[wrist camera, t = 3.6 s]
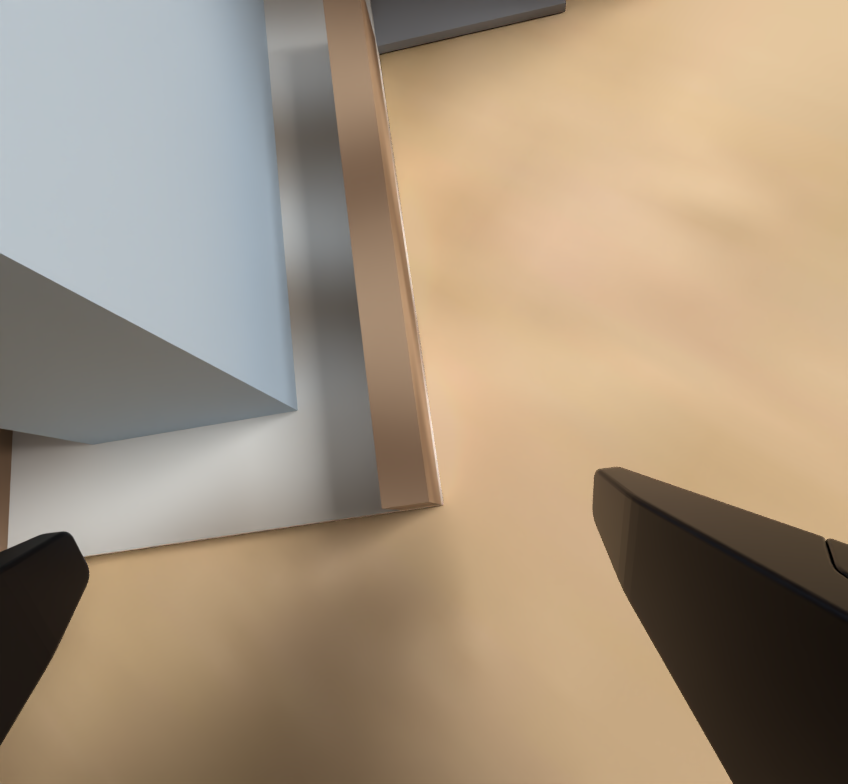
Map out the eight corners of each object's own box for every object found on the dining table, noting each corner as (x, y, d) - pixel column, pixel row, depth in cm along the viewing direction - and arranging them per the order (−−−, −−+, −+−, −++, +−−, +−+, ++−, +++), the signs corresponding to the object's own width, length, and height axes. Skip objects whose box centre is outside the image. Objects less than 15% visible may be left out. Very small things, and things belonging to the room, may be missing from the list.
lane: (679, 470, 14) (767, 448, 9) (-192, 597, 16) (-456, 628, 12) (504, -229, 20) (506, -447, 15) (-107, -62, 22) (-259, -207, 18)
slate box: (297, 410, 15) (-90, 206, 5) (92, 444, 15) (-609, 319, 6) (263, 1, 18) (-8, -596, 8) (96, 41, 19) (-338, -472, 9)
